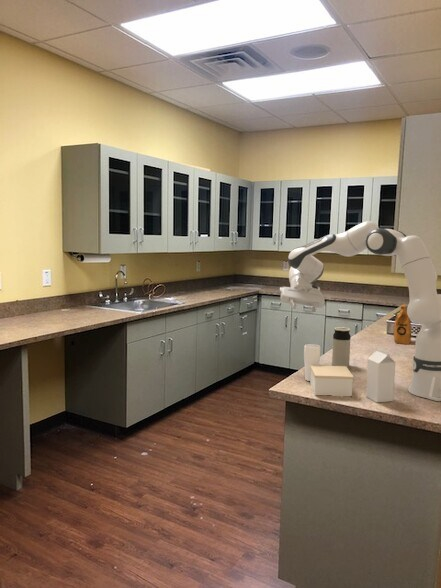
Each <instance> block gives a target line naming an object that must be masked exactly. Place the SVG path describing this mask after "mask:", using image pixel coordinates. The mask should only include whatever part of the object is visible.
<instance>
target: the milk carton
mask: <svg viewBox="0 0 441 588" xmlns="http://www.w3.org/2000/svg"><path fill="white" fill-rule="evenodd" d="M366 373H367V374H366V390H365V391H366V393H365V396H366V398H368V399H370V400H371V401H373V402H375V403H377V404H378V403H386V402H387V403H388V402H393V401H394V395H395V394H394V393H395V376H396V361H395V360H394V359H392V357H391V355H390V354H389V352H388V351H385V350H383V349H381V348H378V347H376V350H375V351H374V352H373V354H371V355H370V356H369V357H368V359H367V372H366Z"/></svg>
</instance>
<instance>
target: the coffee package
mask: <svg viewBox="0 0 441 588" xmlns="http://www.w3.org/2000/svg"><path fill="white" fill-rule="evenodd" d="M400 306H401V307H400V311H398V313H397V314H396V316H395V320H394V324H393V340H394V342H395V343H394V344H399V345H410V343H411V341H412V323H411V322H412V321H411V320H410V318H409V317H408V314H407V305H406V304H404V303H403V304H401V305H400Z"/></svg>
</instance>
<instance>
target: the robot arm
mask: <svg viewBox="0 0 441 588" xmlns="http://www.w3.org/2000/svg"><path fill="white" fill-rule="evenodd" d="M365 250H368V251H369V252H370V253H372V254H375V255H378V256H384V257H395V256H396V257H397V258H398V260H399V262H400V266H401V268H402V271H403V274H404V277H405V279H406V282H407V286H408V292H409V293H408V295H409V302H408V305H407V306H406V309H407V314H408V317H409V318H410V321H411V322H412V323H415V324H417V325H421V328H420V329H419V332H418V333H417V334H416V338H415V346H414V348H415V349H414V356H413V360H412V376H411V380H410V384H409V387H408V389H407V391H408V392H409V393H410V394H411V395H414V396H417V397H420V398H426V399H429V400H430V401H436V402H441V293H438V292H437V280H438V273H437V271H436V267H435V265H434V263H433V260H432V258H431V255H430V252H429V250H428V248H427V246H426V244H425V243H424V241H423V240H422V238H421V237H419V236H418V235H407V234H405V233H404V232H402V231H400V230H395V229H392V228H383V227H381V228H380V227H379V226H378V225H377V224H376V222H375V221H372V220H367V221H366V220H365V221H363V222H361V223H359V224H356V225H355V226H352V227H351V228H350V229H348V230H346V231H344V232H340V233H335V234H333V233H331V234H330V233H329V234H327V235H324V236H323V237H320V238H318V239H316V240H313V241H311V242H309V243H307V244H305V245H302V246H299V247H295V248H293V249H292V250H291V251H290V252H289V253H288V256H287V262H288V265H289V267H290V268H289V271H288V280H289V284H290V287H289V286H284V285H283V286H280V287H279V292H280V301H281V302H282V303H288V304H289V305H290V306H291V308H292V309H296V308H297V305H301V306H306V307H307V306H309V307H312V308H311V311H312V312H315V313H316V312H317V308H319V309H322V308H323V307H324V305H325V304H326V303H325V302H326V301H325V297H324V295H323V293H322V292H321V288H320V286H317V285H315V284H313V283H314V282H316V281H317V280H319V279H320V278H322V275H323V273H324V268H325V267H324V266H325V265H324V263H323V262H322V261H321V260H319V259H318V258H316V257H315V256H314V255H316V254H318V253H320V252H332V253H335V254H337V255H340V256H343V257H346V258H347V257H355V256H357V255H358V254H360V253H361V252H363V251H365Z"/></svg>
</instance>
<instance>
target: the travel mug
mask: <svg viewBox="0 0 441 588" xmlns="http://www.w3.org/2000/svg"><path fill="white" fill-rule="evenodd" d="M333 330H334V332H333V336H332V355H331V357H332V358H331V366H346V367H347V368H348V367H350V360H351V359H350V355H351V333H350V331H351V329H350V328H349V327H343V326H337V327H334V328H333Z"/></svg>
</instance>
